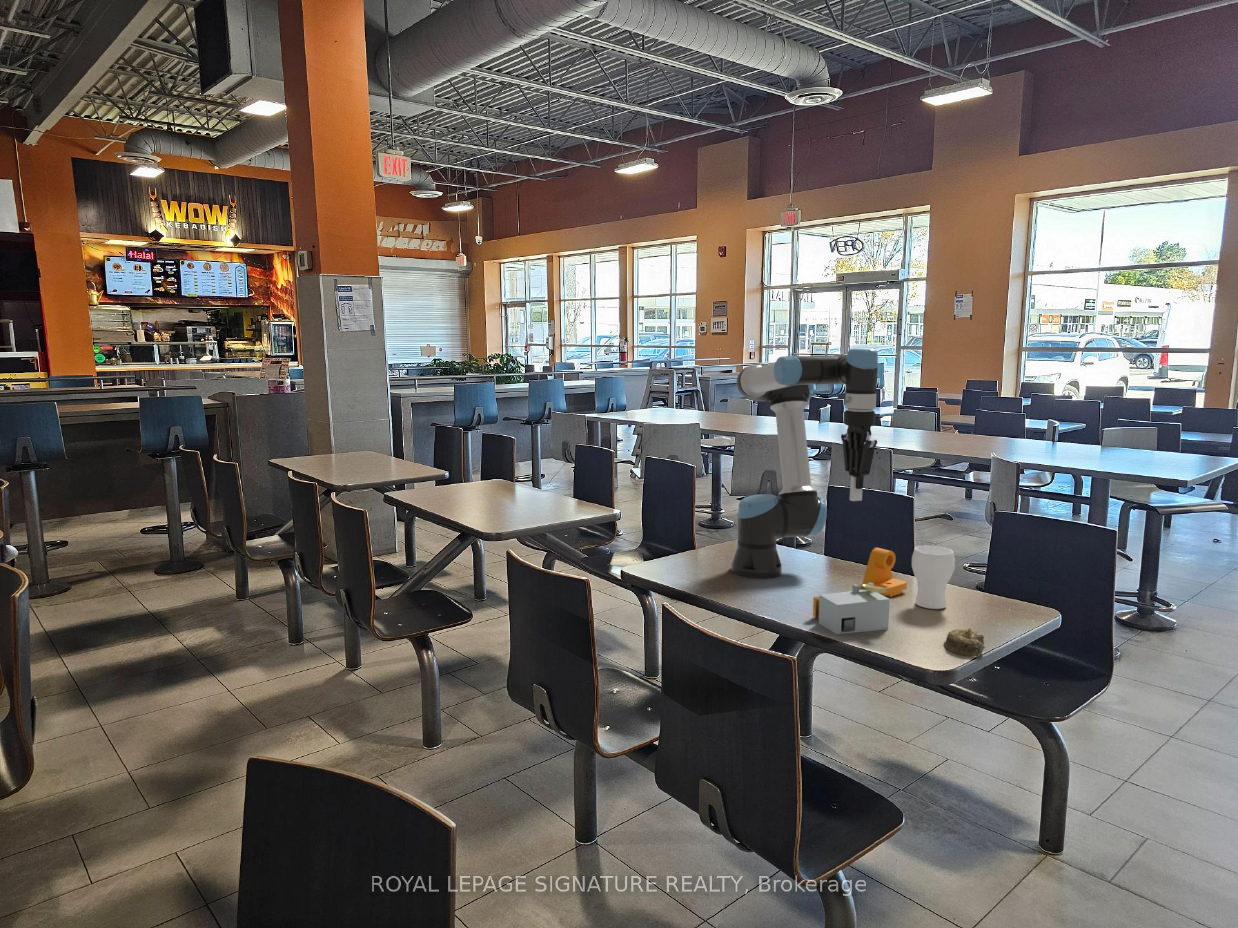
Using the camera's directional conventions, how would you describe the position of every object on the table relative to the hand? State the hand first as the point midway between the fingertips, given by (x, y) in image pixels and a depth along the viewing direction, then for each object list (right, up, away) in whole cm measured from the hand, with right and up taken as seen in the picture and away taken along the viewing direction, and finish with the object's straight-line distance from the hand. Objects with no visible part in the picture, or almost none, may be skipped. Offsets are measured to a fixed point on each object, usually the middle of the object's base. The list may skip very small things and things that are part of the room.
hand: (855, 500), depth 204 cm
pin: (-8, -30, -10) cm, 33 cm away
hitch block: (-4, -31, -11) cm, 33 cm away
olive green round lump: (+18, -33, -25) cm, 45 cm away
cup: (+22, -28, +6) cm, 36 cm away
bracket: (+13, -27, +17) cm, 34 cm away
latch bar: (+1, -22, -12) cm, 25 cm away
